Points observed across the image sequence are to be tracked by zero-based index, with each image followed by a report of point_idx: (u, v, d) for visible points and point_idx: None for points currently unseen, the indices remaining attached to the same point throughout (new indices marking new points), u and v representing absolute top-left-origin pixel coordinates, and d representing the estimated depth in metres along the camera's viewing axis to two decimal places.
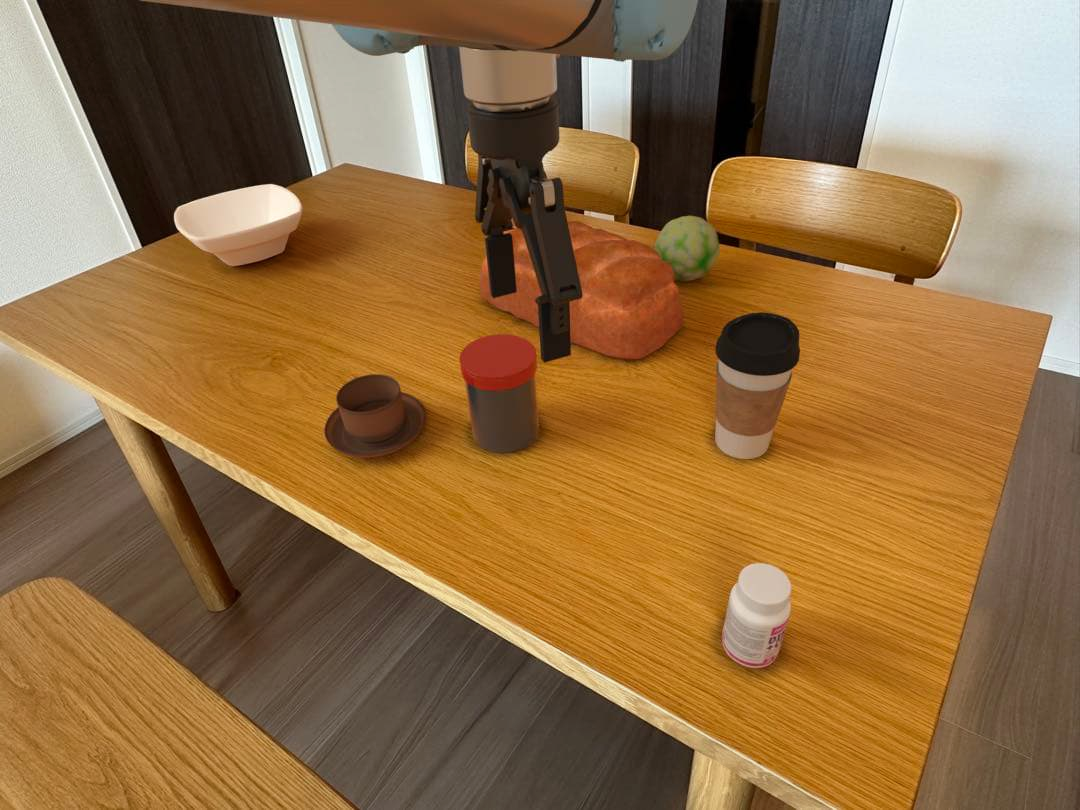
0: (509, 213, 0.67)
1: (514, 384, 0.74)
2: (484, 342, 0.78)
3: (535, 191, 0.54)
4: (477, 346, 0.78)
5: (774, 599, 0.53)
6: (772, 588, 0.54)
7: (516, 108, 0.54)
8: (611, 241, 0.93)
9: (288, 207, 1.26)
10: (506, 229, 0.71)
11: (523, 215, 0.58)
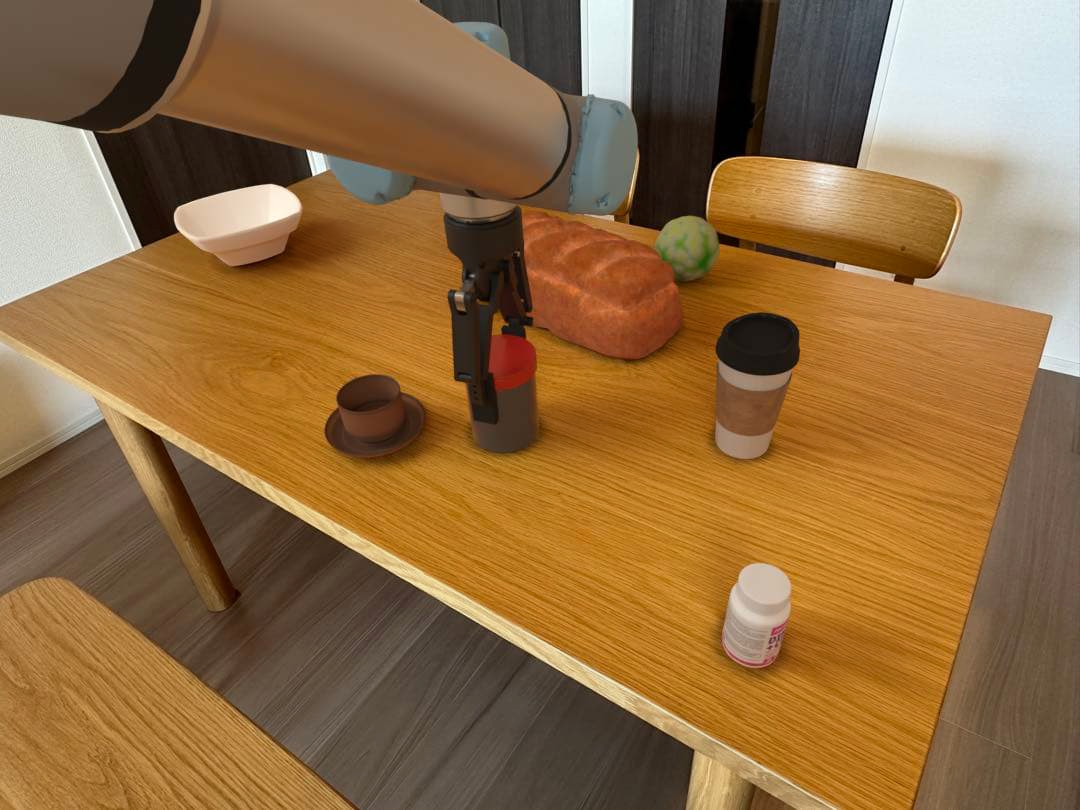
0: (513, 306, 0.76)
1: (514, 384, 0.74)
2: None
3: (448, 298, 0.65)
4: None
5: (774, 599, 0.53)
6: (772, 588, 0.54)
7: (460, 219, 0.64)
8: (611, 241, 0.93)
9: (288, 207, 1.26)
10: (522, 323, 0.79)
11: None
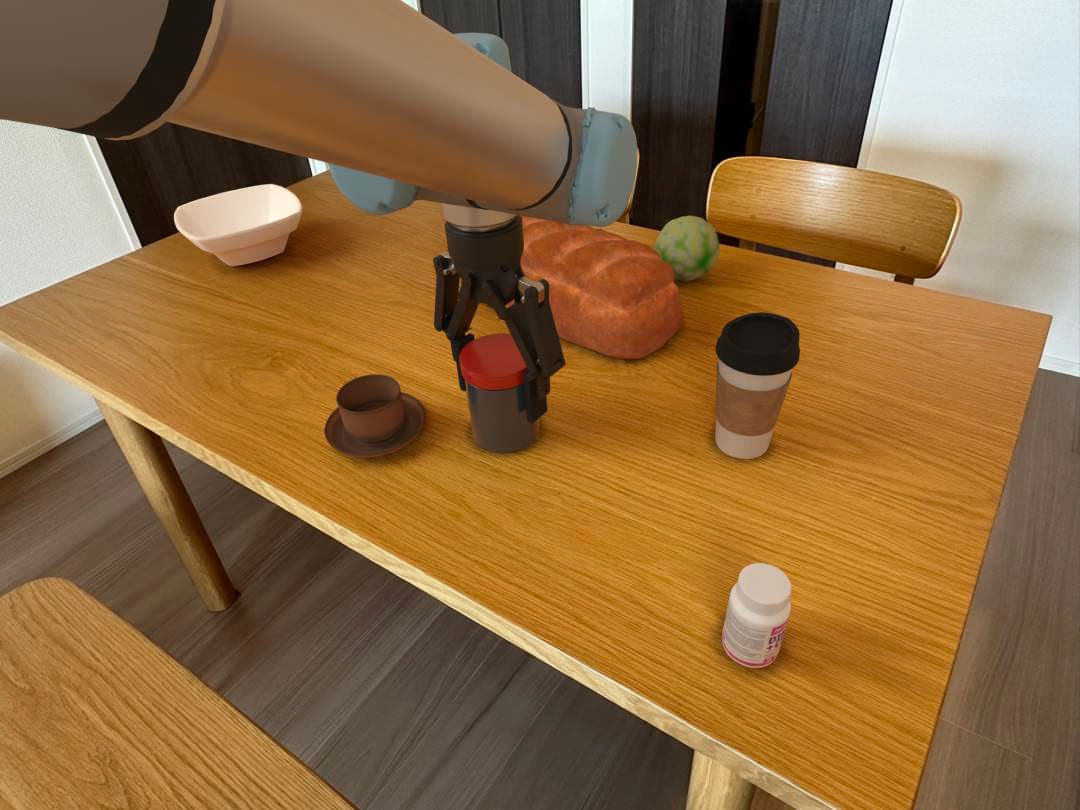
0: (473, 313, 0.77)
1: None
2: (473, 363, 0.75)
3: (534, 295, 0.66)
4: (479, 366, 0.74)
5: (774, 599, 0.53)
6: (772, 588, 0.54)
7: (501, 226, 0.64)
8: (611, 241, 0.93)
9: (288, 207, 1.26)
10: (467, 330, 0.79)
11: (508, 310, 0.70)
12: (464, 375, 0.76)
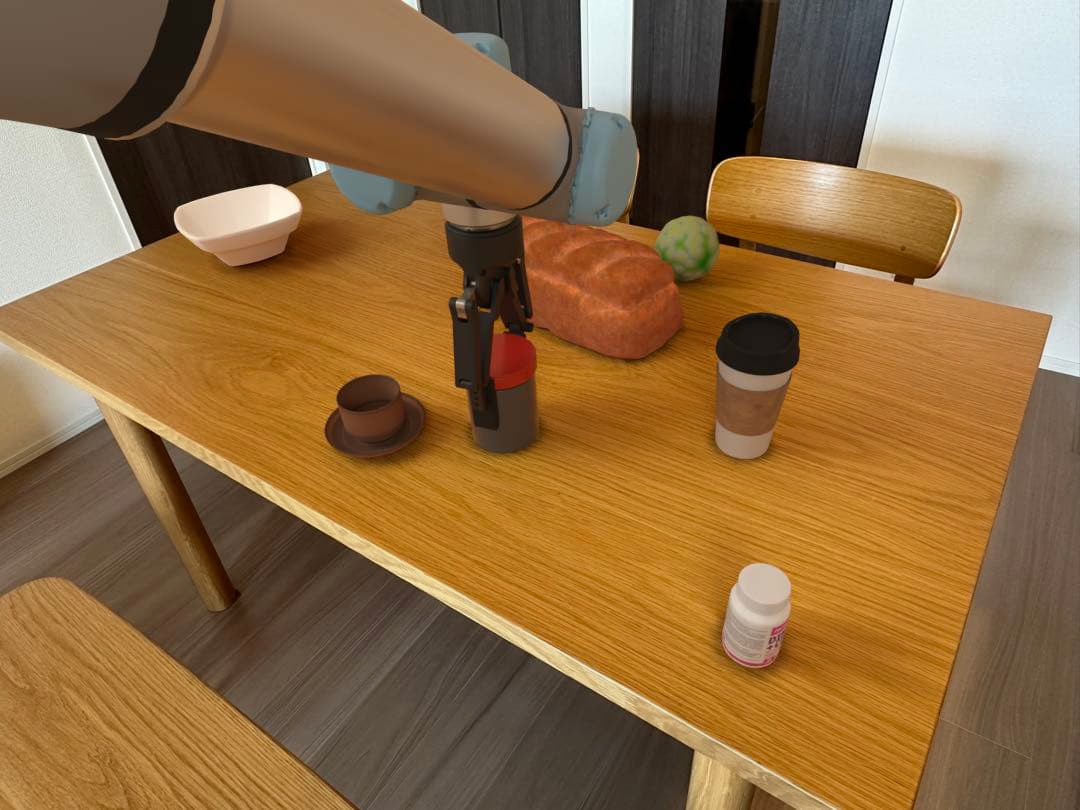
0: (513, 312, 0.76)
1: None
2: None
3: (449, 306, 0.66)
4: None
5: (774, 599, 0.53)
6: (772, 588, 0.54)
7: (461, 228, 0.65)
8: (611, 241, 0.93)
9: (288, 207, 1.26)
10: (522, 329, 0.79)
11: None
12: None
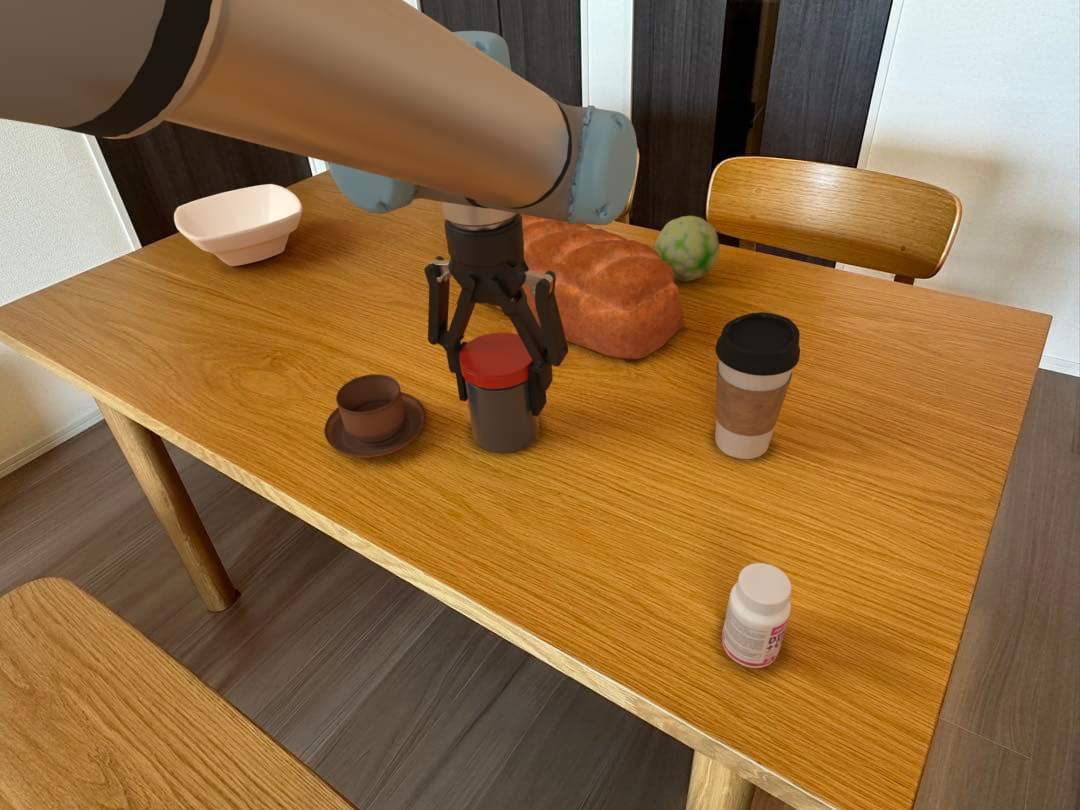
0: (468, 318, 0.76)
1: None
2: (511, 365, 0.74)
3: (547, 288, 0.67)
4: (518, 361, 0.75)
5: (774, 599, 0.53)
6: (772, 588, 0.54)
7: (508, 221, 0.65)
8: (611, 241, 0.93)
9: (288, 207, 1.26)
10: (462, 338, 0.78)
11: (514, 306, 0.70)
12: (516, 381, 0.74)
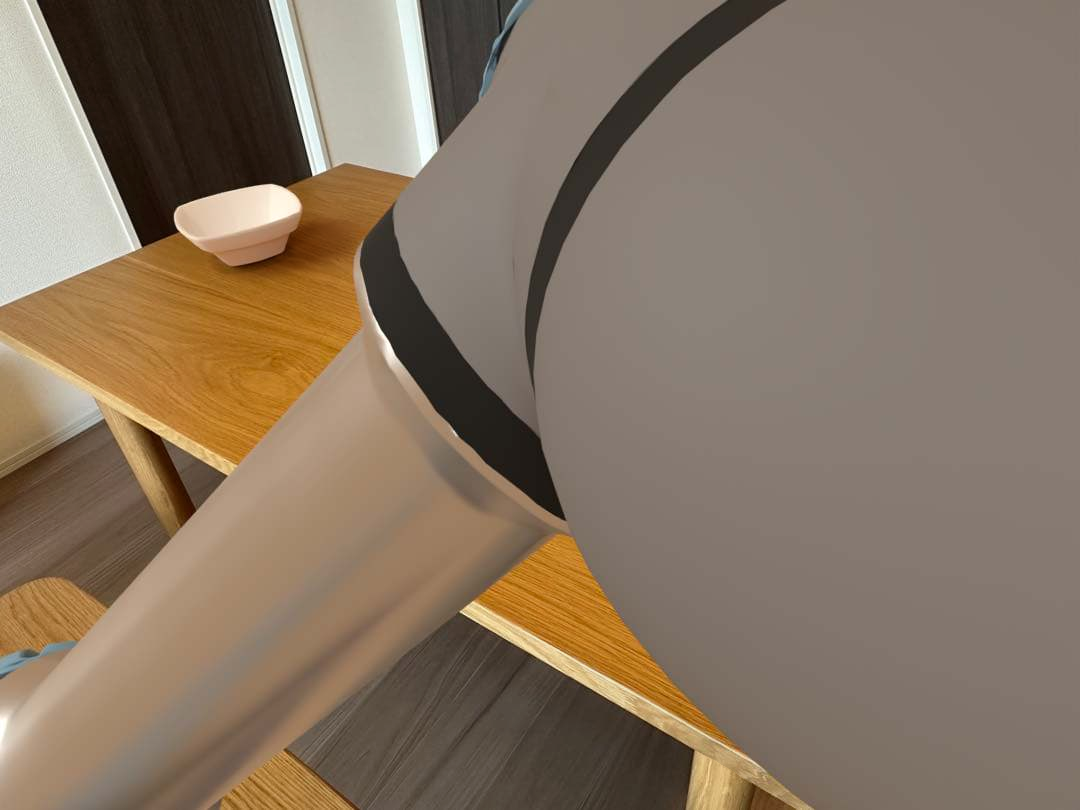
0: None
1: None
2: None
3: None
4: None
5: None
6: None
7: None
8: None
9: (288, 207, 1.26)
10: None
11: None
12: None
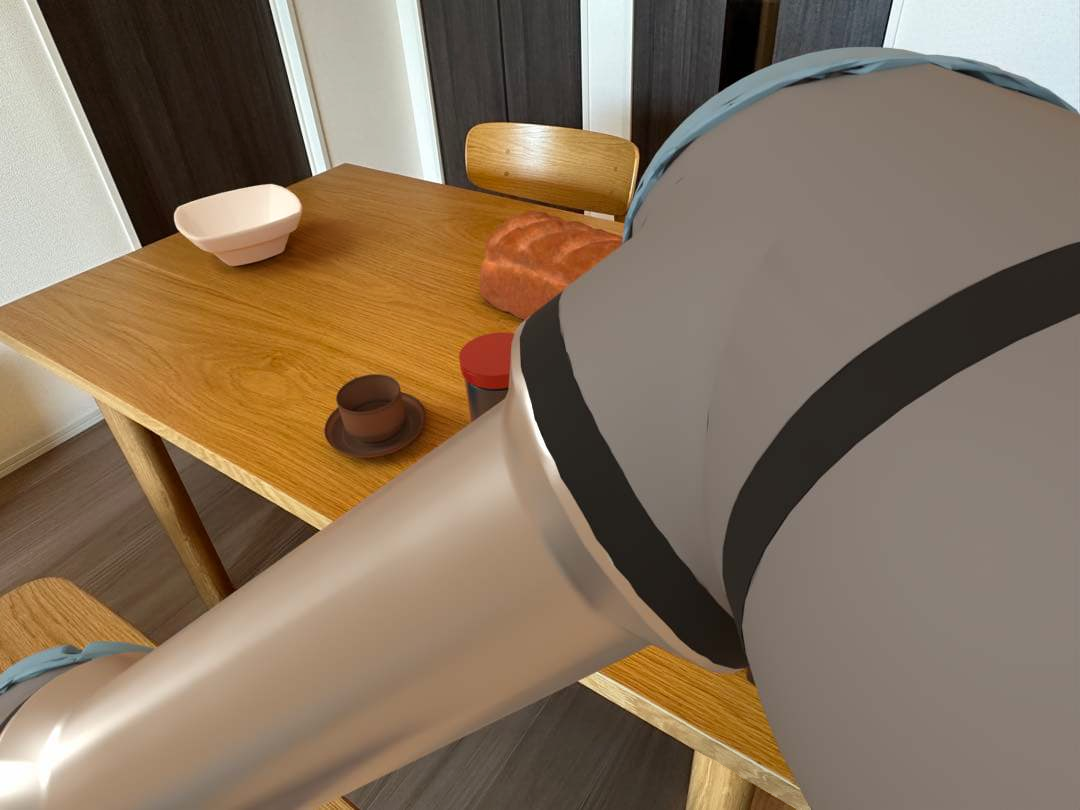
0: None
1: None
2: None
3: None
4: None
5: None
6: None
7: None
8: (611, 241, 0.93)
9: (288, 207, 1.26)
10: None
11: None
12: None
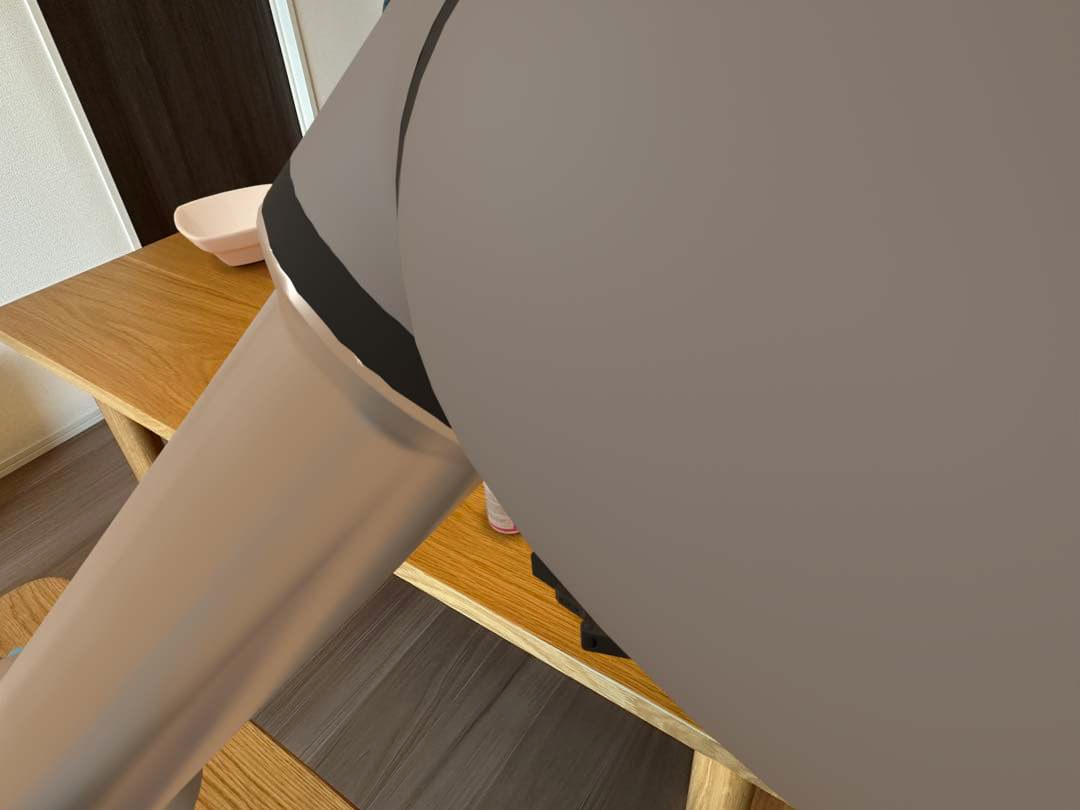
0: None
1: None
2: None
3: None
4: None
5: None
6: None
7: None
8: None
9: None
10: None
11: None
12: None
